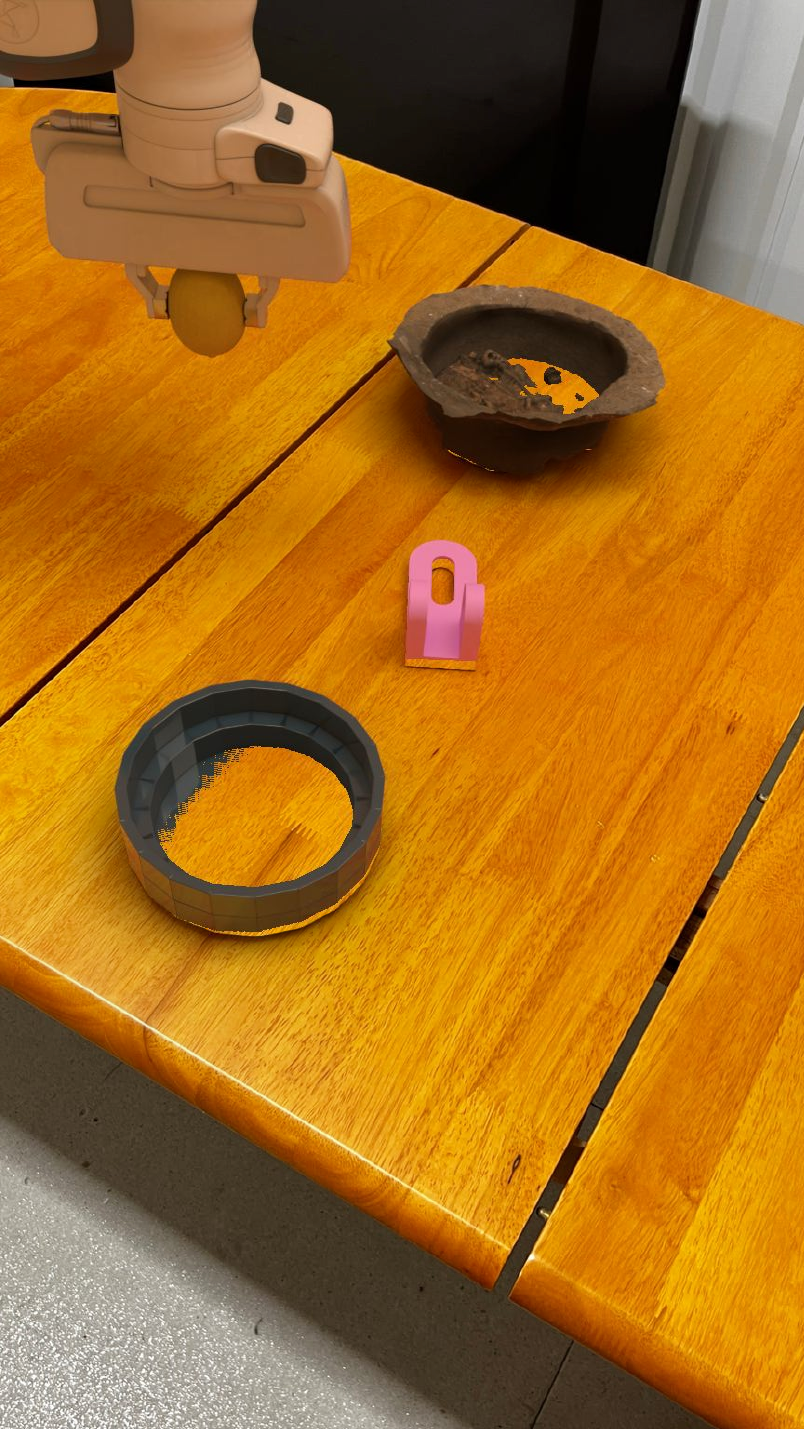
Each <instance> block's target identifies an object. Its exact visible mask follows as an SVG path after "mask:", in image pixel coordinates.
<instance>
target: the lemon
mask: <svg viewBox="0 0 804 1429" xmlns="http://www.w3.org/2000/svg"><path fill="white" fill-rule="evenodd" d="M169 286H170V287H169V295H168V311H169V316H170V319H169V320H170V323H171V326H172V329H173V331H174V334H175V335H176V337H177V338H178V340H179V341H180V343H181V344H183V346H184V347H185V348H187V349H188V350H190V351H191V352H193V353H195V354H197V355H199V356H205V357H207V358H210V359H215V358H216V357H219V356H221V355H224V354H227V353H229V352H230V351H232V350H233V349H234V348H236V346H237V345H238V344H239V342H240V341H241V339H242V338H243V335H244V333H245V330H246V327H245V316H244V304H245V302H246V294H245V291H244V290H245V289H244V287H243V284H242V281H241V280H240V277H239V276H238V274H229V273H218V272H207V271H197V270H186V269H175V271H174V273H173V274H172V277H171V279H170V283H169Z"/></svg>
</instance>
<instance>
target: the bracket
mask: <svg viewBox="0 0 804 1429" xmlns="http://www.w3.org/2000/svg"><path fill="white" fill-rule="evenodd" d="M437 559H448V560H450V561H451V562H453V564H454V600H453V599H452V601H451V602H450V603H447V604H440V603H436V602H435V601H434V600H433V598H432V582H433V580H432V579H433V578H432V576H433V571H432V563H433V562H434V561H435V560H437ZM408 576H409V583H408V582H407V599H408V606H407V605H406V623H407V630H406V629H405V646H406V653H405V652H404V660H405V659H428V660H455V661H477V662H478V656H479V651H480V643H481V637H482V630H483V625H484V624H483V623H484V615H485V596H486V594H485V591H486V590H485V589H486V588H485V584H484V583H478V564H477V560H476V557H475V556H474V554H473V553H472V552H471V551H470V549H468V548H467V547H465V546H464V545H462V544H460V543H457V542H454V541H451V540H446V539H445V540H444V539H436V540H430V541H427V542H424V543H422V544H420V545H418V546H417V547H416V548H415V549H414V550H413V551H412V553H411V555H410V556H409V564H408Z"/></svg>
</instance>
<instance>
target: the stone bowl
mask: <svg viewBox="0 0 804 1429" xmlns="http://www.w3.org/2000/svg"><path fill="white" fill-rule="evenodd" d="M392 335H393V338H392V339H386V340H385V342H386V343H387V344H388V346H389V347H390V349H391V350H392V351H393V353H395V355H396V356H397V358H398V360H399V362H400V363H401V364H402V367H403V368H404V370H405V372H406V373H407V374H408V376H409V377H410V378H411V379H412V381H413V383H414V384H415V385H416V387H417V388H418V390H419V391H420V392H421V393H423V399H424V403H425V410H426V414H427V417H428V418H429V420H430V422H432V424H433V425H434V428H436V430H437V431H438V433H440V436H441V439H442V446H443V448H444V447H445V448H446V449H447V450H450V451H451V452H453V453H455V454H457V455H459V456H461V457H463V458H466V459H468V460H469V461H472V462H473V463H476V464H477V465H476V466H478V465H479V466H480V467H479V466H478V467H479V468H481V467H483V468H487V469H489V470H494V471H496V472H502V471H503V472H505V473H509V474H513V475H521V476H525V475H530V474H536V473H539V472H541V471H542V469H543V468H544V466H545V464H546V463H547V462H548V461H549V460H556V461H567V460H569V459H570V458H572V457H573V456H576V455H579V454H581V453H582V452H583V451H586V450H585V449H593V450H595V449H596V448H597V447H598V446H600V444H601V442H602V441H603V438H604V436H605V434H606V433H607V430H608V428H609V426H610V424H611V421H612V420H615V419H622V418H624V417H627V416H630V415H633V414H637V413H639V412H641V411H644V410H646V409H649V408H651V407H653V406H655V405H657V404H658V403H659V402H658V401H657V400H656V399H657V398H658V397H660V394H658V393H659V392H660V391H661V390H663V389H665V387H666V378H665V375H664V371H663V370H664V369H663V368H662V366H663V365H662V364H661V363H660V361H659V357H658V349H657V348H656V347H655V346H654V345H653V343H652V342H651V340H649V339H647V337H646V335H645V334H644V333H643V331H641V330H640V329H638V328H637V326H636V324H634V323H633V322H632V321H631V320H628V319H626V318H623V317H621V316H619V315H615V314H614V313H613V312H612V311H610V310H608V309H606V308H604V307H602V306H599V305H597V304H594V303H590V302H588V301H585V300H584V299H581V298H577V297H571V296H570V295H567V294H563V293H560V292H556V291H552V290H549V289H545V288H540V287H537V286H530V285H529V286H518V287H515V286H513V287H509V286H508V285H507V284H500V285H495V284H485V283H482V284H479V285H472V286H467V287H462V288H457V289H454V290H453V291H448V292H442V293H441V292H440V293H432V294H430V295H428V296H427V297H425V298H423V299H421V300H419V302H416V303H415V304H414V305H412V306H410V308H408V309H407V311H406V312H405V313H404V316H403V320H402V321H401V322H400V323H399V324H398V326H397V327H396V330H395V332H393V333H392ZM512 358H515V359H520V358H522V359H527V360H534V361H539V362H546V363H547V364H549V365H553V366H556V367H559V368H562V369H563V370H567V371H569V372H570V373H572V374H577V375H578V376H580V377H581V378H583V379H584V380H585V381H586V383H588V384H589V385H590V386H591V387H592V388H594V389H595V391H596V392H597V393H598V394H599V397H597V398H596V399H593V400H591V401H590V402H588V403H587V404H586V405H585V406H584V407H583V408H577V409H575V410H574V412H575V413H571V414H563V411H564V408H563V407H564V406H563V405H555V404H553V403H552V397H551V396H549V395H541V394H538V392H537V393H535V394H536V395H533V394H531V393H530V392H529V391H528V390H527V389H526V388H525V387H524V386H525V385H527V387H534V388H537V387H536V386H537V385H536V384H535V382H533V381H532V380H531V378H530V377H529V376H528V374H527V373H526V372H525V370H526V369H525V368H524V367H523V366H521V365H520V364H516V365H511V364H510V363H509V362H508V361H507V360H509V359H512ZM560 374H561V372H560V371H558V370H556V369H555V368H554V367H549V368H547V369H546V371H545V373H544V381H545V382H546V384H548V385H551V384H559V383H561V382H562V381H561V376H560ZM489 377H490V378H498V380H491V379H490V378H489ZM535 385H536V386H535ZM521 391H524V392H523V393H525V395H527V396H522V394H521V395H520V392H521ZM575 397H576V399H578V401H583V400H584V397H582V396H581V395H579V394H578V393H576V395H575ZM599 443H600V444H599ZM595 447H596V448H595ZM445 448H444V449H445ZM446 449H445V450H446ZM463 458H462V459H463ZM483 468H482V469H483Z"/></svg>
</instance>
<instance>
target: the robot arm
mask: <svg viewBox="0 0 804 1429" xmlns="http://www.w3.org/2000/svg"><path fill="white" fill-rule="evenodd" d="M257 5H258V0H0V75H1V76H4V77H6V78H10V79H14V80H20V81H33V82H34V81H51V80H62V79H72V78H81V77H88V76H94V75H99V74H104V73H108V72H113V79H114V87H115V94H116V103H117V110H118V113H117V114H116V113H106V112H98V111H97V112H93V111H92V112H79V111H73V110H71V109H66V108H53V109H50V110H49V113H48V114H45V115H42V116H40V117H37V119H36V120H35V121H34V122H33V123H32V126H31V129H30V142H31V148H32V152H33V158H34V161H35V164H36V167H37V168H38V169H39V171H40V172H41V173H42V175H44V211H45V220H46V229H47V235H48V237H47V238H48V241H49V244H50V245H51V246H52V247H53V248H54V249H55V251H57V252H58V254H59V255H61V256H62V258H65V259H69V260H79V261H81V260H82V261H91V262H101V263H111V264H112V263H113V264H121V265H122V264H123V265H124V271H125V272H124V273H125V277H126V278H127V279H128V281H129V282H130V283H131V284H132V285H133V287H134V288H135V289H136V290H137V293H139V294H140V295H141V297H142V299H144V300H145V307H146V314H147V318H148V319H155V320H166V321H169V320H170V316H169V311H168V295H169V287H170V285H167V284H159V282H158V281H157V279H156V278H155V276H154V275H153V273H152V272H151V271H150V269H149V267H154V268H165V269H166V268H167V269H175V270H176V269H186V270H197V271H207V272H218V273H229V274H237V275H242V276H251V277H258V278H257V280H258V288H260V289H259V291H258V292H257V293H253V292H252V293H249V292H246V294H245V298H246V302H245V304H244V316H245V328H256V329H264V330H266V329H267V324H268V318H269V305H270V304H271V302H272V301H273V299H274V298H275V297H276V295H277V293H278V292H279V290H280V286H281V279H283V280H294V281H295V280H296V281H305V282H314V283H315V282H316V283H326V284H336V283H339V281H341V280H342V278H343V277H344V276H345V275H346V274H347V273H348V272H349V269H350V264H351V258H352V257H351V256H352V217H351V207H350V199H349V193H348V192H349V190H348V186H347V180H346V176H345V172H344V169H343V167H342V165H341V162H340V161H339V160H338V158H337V157H336V156H335V155H334V154H333V147H334V122H333V116H332V113H331V111H330V110H329V109H328V108H326V107H325V106H323V105H321V104H319V103H317V102H315V101H313V100H310V99H308V98H305V97H304V96H301V95H299V94H296V93H294V92H292V91H289V90H287V89H286V88H283V87H281V86H279V85H277V84H274V83H272V82H271V81H269V80H267V79H264V78H262V74H261V73H262V72H261V65H260V60H259V57H258V54H257V51H256V47H255V42H254V37H253V33H254V32H253V31H254V30H253V28H254V19H255V15H256V12H257V7H258V6H257Z"/></svg>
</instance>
